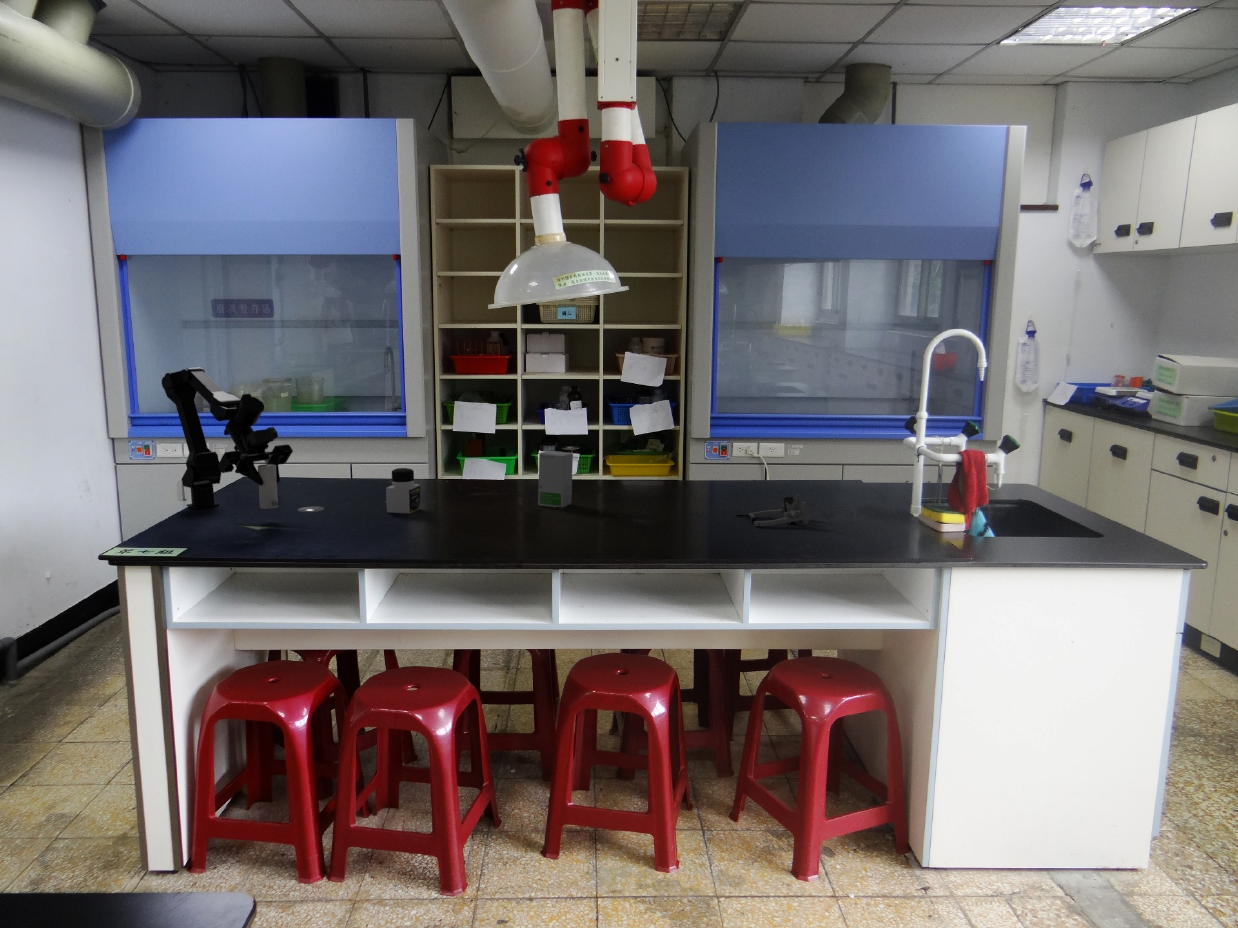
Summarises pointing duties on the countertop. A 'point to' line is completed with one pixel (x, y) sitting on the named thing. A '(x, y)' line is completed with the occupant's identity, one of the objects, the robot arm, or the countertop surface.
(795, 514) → the bike brake
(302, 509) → the grey shallow disc
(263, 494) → the grey rounded post
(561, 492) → the skincare box
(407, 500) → the medicine bottle
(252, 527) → the mat
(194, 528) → the countertop surface
